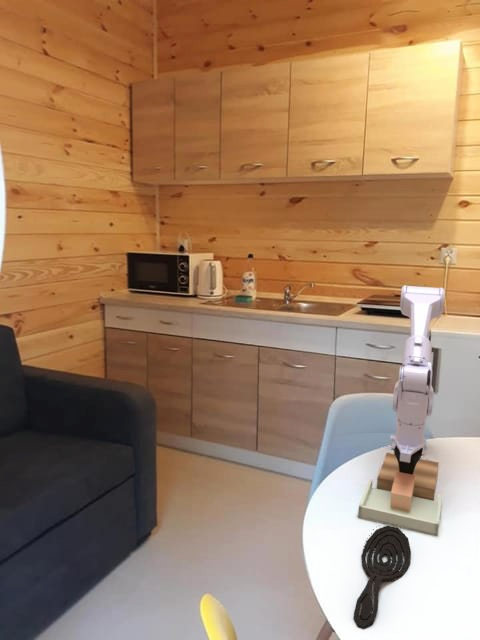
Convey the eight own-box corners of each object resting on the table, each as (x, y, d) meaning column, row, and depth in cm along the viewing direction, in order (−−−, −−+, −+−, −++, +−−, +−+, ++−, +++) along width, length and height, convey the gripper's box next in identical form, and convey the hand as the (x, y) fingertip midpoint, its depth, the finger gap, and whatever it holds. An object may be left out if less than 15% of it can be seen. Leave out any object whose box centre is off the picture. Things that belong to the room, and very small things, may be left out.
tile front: (393, 482, 113) (391, 492, 111) (413, 486, 112) (411, 497, 109) (392, 496, 115) (390, 507, 113) (412, 501, 114) (410, 511, 111)
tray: (369, 488, 121) (369, 478, 120) (441, 504, 115) (442, 493, 115) (357, 517, 110) (358, 506, 109) (437, 536, 104) (438, 524, 103)
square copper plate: (385, 463, 133) (386, 452, 133) (437, 474, 129) (438, 462, 128) (376, 490, 121) (377, 477, 120) (433, 502, 116) (434, 489, 115)
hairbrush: (334, 605, 82) (372, 516, 104) (333, 625, 83) (370, 533, 104) (390, 624, 78) (416, 528, 100) (388, 645, 79) (415, 545, 101)
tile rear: (395, 481, 118) (395, 471, 117) (414, 485, 117) (415, 475, 115) (392, 494, 115) (393, 484, 114) (412, 499, 113) (412, 488, 112)
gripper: (396, 406, 123) (391, 461, 126) (386, 429, 110) (381, 490, 112) (429, 411, 120) (423, 467, 123) (423, 435, 107) (417, 498, 110)
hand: (405, 479), depth 117 cm, fingers closed
